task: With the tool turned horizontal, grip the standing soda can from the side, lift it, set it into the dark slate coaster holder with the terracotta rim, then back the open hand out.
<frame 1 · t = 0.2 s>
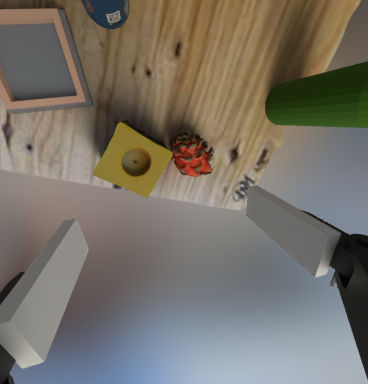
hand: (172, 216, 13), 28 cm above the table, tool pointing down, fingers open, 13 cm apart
yellow black cube: (135, 153, 38), on the table
dragon fruit: (188, 153, 40), on the table
soda can: (107, 5, 28), on the table
coaster: (40, 66, 28), on the table
wine bottle: (280, 105, 41), on the table
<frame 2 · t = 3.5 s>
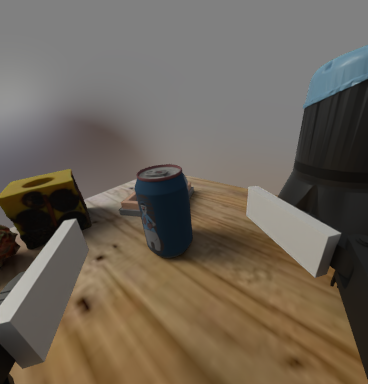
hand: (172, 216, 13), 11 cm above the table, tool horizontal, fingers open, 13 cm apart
yellow black cube: (63, 226, 35), on the table
soda can: (171, 245, 27), on the table
coaster: (160, 201, 40), on the table
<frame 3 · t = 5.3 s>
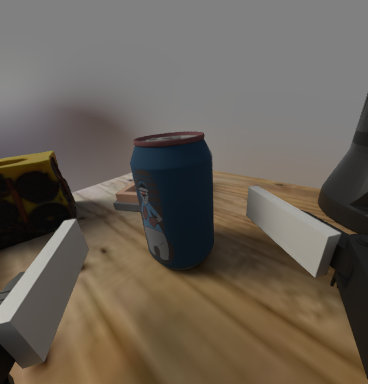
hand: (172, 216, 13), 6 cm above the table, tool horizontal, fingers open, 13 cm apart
yellow black cube: (41, 223, 27), on the table
soda can: (182, 250, 19), on the table
coaster: (165, 194, 32), on the table
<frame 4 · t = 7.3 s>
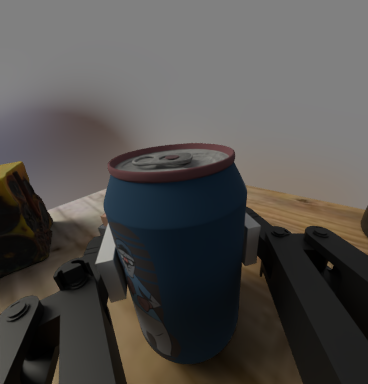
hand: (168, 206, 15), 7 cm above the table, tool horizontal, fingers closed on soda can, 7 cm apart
yellow black cube: (4, 256, 21), on the table
soda can: (189, 313, 13), on the table, touching gripper
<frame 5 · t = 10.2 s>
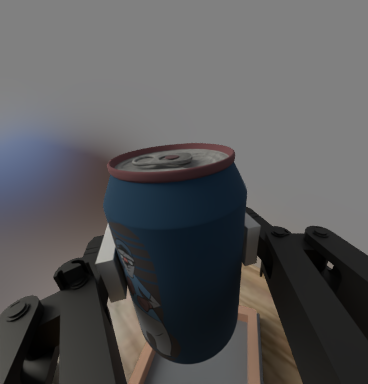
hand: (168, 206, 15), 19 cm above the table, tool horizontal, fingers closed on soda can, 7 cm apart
soda can: (189, 313, 13), point 12 cm above the table, touching gripper
coaster: (200, 362, 19), on the table
when the fingers open (9 cm above the table, at t = 13.1 s): soda can drops 1 cm, resting on coaster.
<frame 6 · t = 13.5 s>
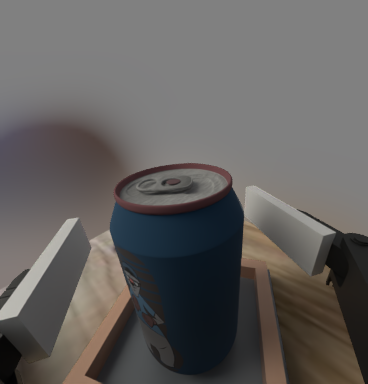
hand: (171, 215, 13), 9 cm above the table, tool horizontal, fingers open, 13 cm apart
soda can: (190, 323, 13), point 1 cm above the table, touching coaster
coaster: (191, 330, 14), on the table
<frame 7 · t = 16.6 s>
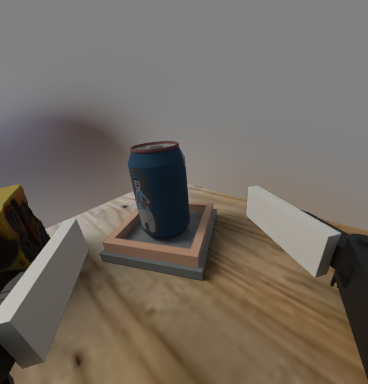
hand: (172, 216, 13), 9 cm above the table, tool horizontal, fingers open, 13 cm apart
yellow black cube: (2, 284, 20), on the table
soda can: (167, 229, 25), point 1 cm above the table, touching coaster
coaster: (167, 234, 25), on the table
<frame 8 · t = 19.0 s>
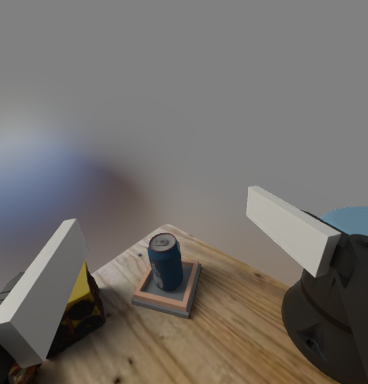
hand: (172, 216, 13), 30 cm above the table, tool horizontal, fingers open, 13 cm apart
yellow black cube: (77, 319, 36), on the table
soda can: (169, 281, 41), point 1 cm above the table, touching coaster
coaster: (169, 283, 41), on the table
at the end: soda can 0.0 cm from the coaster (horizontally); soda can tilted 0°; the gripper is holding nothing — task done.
